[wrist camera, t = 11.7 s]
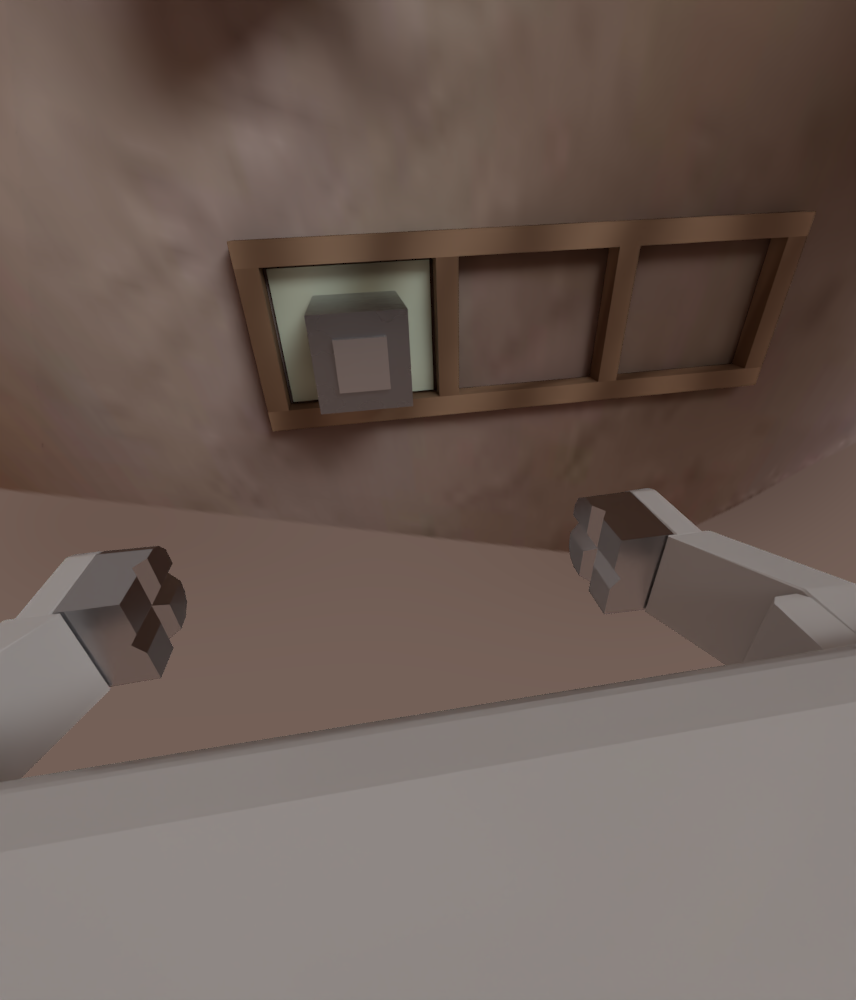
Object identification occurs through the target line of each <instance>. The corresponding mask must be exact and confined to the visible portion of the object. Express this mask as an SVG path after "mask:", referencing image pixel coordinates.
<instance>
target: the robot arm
mask: <svg viewBox="0 0 856 1000" xmlns="http://www.w3.org/2000/svg"><path fill="white" fill-rule="evenodd" d="M573 515H574V517H575V518H576V519H577V521H578V522H579V523H578V524H577V526H576V527H575V528H574V529H573V530H572V531H571V532H570V541H569V550H570V557H571V560H572V563H573V565H574V568H575V569H576V571H577V573H578V574H579V576H581V577H583V578H585V579H587V580H588V581H590V587H589V592H590V593H591V595H592V596H593V598H594V599H595V601H596V603H597V604H598V606H599V607H600V609H601V610H602V612H603V613H604V614H610V613H619V612H627V611H636V610H644V609H646V610H645V612H647V613H648V614H650V615H651V616H653V617H654V618H656V619H657V620H659V621H660V622H662V623H663V624H665V625H666V626H668V627H669V628H671V629H672V630H674V631H676V632H677V633H678V634H680V635H682V636H683V637H685V638H686V639H688V640H689V641H690V642H692V643H694V644H695V645H696V646H698V647H700V648H701V649H702V650H704V651H706V652H707V653H709V654H710V655H712V656H713V657H715V658H716V659H718V660H719V661H721V662H722V663H724V664H725V665H724V666H717V667H711V668H705V669H699V670H693V671H686V672H680V673H674V674H668V675H661V676H656V677H649V678H643V679H636V680H630V681H624V682H618V683H612V684H606V685H600V686H593V687H587V688H581V689H574V690H568V691H562V692H556V693H549V694H544V695H537V696H531V697H524V698H518V699H512V700H506V701H500V702H494V703H487V704H481V705H475V706H469V707H462V708H456V709H450V710H444V711H437V712H432V713H425V714H419V715H413V716H406V717H400V718H395V719H388V720H382V721H376V722H369V723H363V724H357V725H350V726H345V727H338V728H332V729H326V730H319V731H313V732H308V733H301V734H295V735H289V736H282V737H276V738H270V739H264V740H257V741H251V742H245V743H239V744H233V745H227V746H220V747H214V748H208V749H201V750H195V751H189V752H183V753H177V754H170V755H165V756H158V757H152V758H146V759H139V760H134V761H127V762H121V763H115V764H108V765H102V766H96V767H90V768H84V769H78V770H71V771H65V772H59V773H53V774H46V775H40V776H34V777H28V778H22V777H23V776H24V775H25V774H26V773H27V772H28V771H29V770H30V769H31V768H32V767H33V766H34V764H36V763H37V762H38V761H39V760H40V759H41V758H42V757H43V756H44V755H45V754H46V753H47V752H48V751H49V750H50V749H51V748H52V747H53V746H54V745H55V744H56V743H57V742H58V741H59V740H60V739H61V738H62V737H63V736H64V735H65V734H66V733H67V732H68V731H69V730H70V729H71V728H72V727H73V726H74V725H75V724H76V723H77V722H78V721H79V720H80V719H81V718H82V717H83V716H84V715H85V714H86V713H87V712H88V711H89V710H90V709H91V708H92V707H93V706H94V705H95V704H96V703H97V702H98V701H99V700H100V699H101V698H102V697H103V696H104V695H105V694H106V693H107V692H108V691H109V690H110V687H112V686H118V685H124V684H129V683H135V682H141V681H147V680H153V679H158V678H161V677H162V674H163V672H164V670H165V667H166V665H167V662H168V660H169V658H170V655H171V652H172V650H173V646H172V644H171V642H170V640H169V639H170V638H171V637H172V636H173V635H175V634H176V633H177V632H178V631H179V630H180V629H181V628H182V625H183V623H184V620H185V617H186V606H187V600H186V595H185V590H184V588H183V586H182V583H181V581H180V580H178V579H176V578H175V577H174V576H172V575H170V574H169V573H168V572H169V570H170V567H171V565H172V561H171V559H170V557H169V555H168V553H167V551H166V549H164V548H162V547H160V546H153V547H143V548H134V549H122V550H112V551H104V552H92V553H85V554H75V555H73V556H70V557H67V558H66V559H65V560H64V561H63V563H62V564H61V565H60V566H59V567H58V568H57V570H56V571H55V572H54V573H53V574H52V575H51V577H50V578H49V579H48V580H47V582H46V583H45V584H44V585H43V586H42V587H41V589H40V590H39V591H38V592H37V593H36V595H35V596H34V597H33V598H32V599H31V601H30V602H29V603H28V604H27V605H26V607H25V608H24V609H23V610H22V612H20V614H19V615H18V616H17V617H16V618H15V619H11V620H5V621H3V622H1V623H0V1000H856V584H854V583H852V582H849V581H846V580H844V579H841V578H838V577H835V576H832V575H830V574H827V573H824V572H822V571H819V570H816V569H813V568H811V567H808V566H805V565H803V564H800V563H797V562H794V561H791V560H789V559H786V558H783V557H780V556H778V555H775V554H772V553H770V552H767V551H764V550H761V549H759V548H756V547H753V546H750V545H748V544H745V543H742V542H739V541H737V540H734V539H731V538H729V537H726V536H723V535H720V534H718V533H715V532H712V531H701V530H700V529H699V528H697V527H696V526H695V525H694V524H693V523H692V522H691V521H690V520H688V519H687V518H686V517H685V516H684V515H683V514H682V513H681V512H679V511H678V510H677V509H676V508H675V507H674V506H673V505H672V504H670V503H669V502H668V501H667V500H666V499H665V498H664V497H663V496H661V495H660V494H659V493H658V492H657V491H656V490H654V489H650V488H644V489H637V490H631V491H625V492H620V493H613V494H605V495H597V496H590V497H582V498H578V500H577V502H576V504H575V508H574V514H573Z"/></svg>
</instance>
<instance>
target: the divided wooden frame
mask: <svg viewBox="0 0 856 1000" xmlns="http://www.w3.org/2000/svg"><path fill="white" fill-rule="evenodd" d="M815 213H816V211H797V212H778V213H758V214H739V215H719V216H700V217H680V218H661V219H642V220H622V221H603V222H583V223H564V224H544V225H525V226H505V227H486V228H467V229H447V230H428V231H408V232H389V233H369V234H350V235H330V236H311V237H292V238H272V239H253V240H233V241H227V245H228V249H229V253H230V257H231V261H232V265H233V270H234V274H235V278H236V282H237V286H238V290H239V294H240V299H241V303H242V307H243V311H244V315H245V319H246V323H247V328H248V332H249V336H250V340H251V344H252V348H253V352H254V357H255V361H256V365H257V369H258V373H259V377H260V382H261V386H262V390H263V394H264V398H265V402H266V406H267V411H268V415H269V419H270V423H271V427H272V431H283V430H293V429H304V428H314V427H324V426H335V425H345V424H355V423H366V422H376V421H387V420H397V419H407V418H418V417H428V416H438V415H449V414H459V413H469V412H480V411H490V410H501V409H511V408H521V407H532V406H542V405H552V404H563V403H573V402H583V401H594V400H604V399H614V398H625V397H635V396H646V395H656V394H666V393H677V392H687V391H697V390H708V389H718V388H728V387H739V386H749V385H755V384H756V381H757V378H758V375H759V372H760V370H761V367H762V364H763V361H764V358H765V355H766V353H767V350H768V347H769V344H770V341H771V338H772V336H773V333H774V330H775V327H776V324H777V321H778V318H779V316H780V313H781V310H782V307H783V304H784V301H785V299H786V296H787V293H788V290H789V287H790V284H791V282H792V279H793V276H794V273H795V270H796V267H797V265H798V262H799V259H800V256H801V253H802V250H803V247H804V245H805V242H806V239H807V236H808V233H809V230H810V228H811V225H812V222H813V219H814V216H815ZM765 238H771V241H770V244H769V248H768V251H767V254H766V257H765V260H764V263H763V267H762V270H761V273H760V276H759V279H758V282H757V285H756V289H755V292H754V295H753V298H752V301H751V304H750V308H749V311H748V314H747V317H746V320H745V323H744V327H743V330H742V333H741V336H740V339H739V342H738V346H737V349H736V352H735V355H734V358H733V361H732V364H723V365H712V366H701V367H690V368H679V369H668V370H657V371H646V372H635V373H624V374H617V372H618V367H619V361H620V356H621V350H622V345H623V340H624V334H625V329H626V323H627V318H628V312H629V307H630V301H631V296H632V291H633V285H634V280H635V274H636V269H637V263H638V258H639V253H640V247H641V246H644V245H662V244H679V243H696V242H713V241H730V240H748V239H765ZM593 248H609V252H608V258H607V265H606V271H605V278H604V285H603V291H602V298H601V304H600V311H599V318H598V324H597V331H596V337H595V344H594V351H593V357H592V364H591V370H590V377H579V378H568V379H557V380H546V381H535V382H524V383H513V384H502V385H491V386H480V387H469V388H459V273H458V256H472V255H489V254H507V253H524V252H541V251H558V250H575V249H593ZM421 258H432V267H433V299H434V331H435V363H436V391H424V392H413V406H410V407H399V408H387V409H376V410H365V411H354V412H343V413H332V414H321V411H320V405H319V401H314V402H303V403H292V404H291V401H290V397H289V392H288V387H287V382H286V378H285V373H284V368H283V363H282V359H281V354H280V349H279V344H278V340H277V335H276V330H275V325H274V320H273V316H272V311H271V306H270V301H269V297H268V292H267V287H266V282H265V278H264V273H263V268H266V267H283V266H300V265H317V264H335V263H352V262H369V261H386V260H403V259H421ZM266 271H267V276H268V281H269V286H270V291H271V296H272V300H273V305H274V310H275V315H276V320H277V325H278V329H279V334H280V339H281V344H282V349H283V354H284V358H285V363H286V368H287V373H288V378H289V383H290V387H291V392H292V397H293V402H299V401H310V400H318V394H317V388H316V382H315V376H314V370H313V365H312V359H311V353H310V347H309V341H308V336H307V330H306V324H305V318H304V315H305V312H306V310H307V308H308V305H309V303H310V300H311V298H312V296H315V295H331V294H347V293H363V292H380V291H396V292H397V294H398V295H399V297H400V298H401V300H402V301H403V303H404V304H405V306H406V307H407V308H408V322H409V340H410V357H411V375H412V391H421V390H433V389H434V385H433V356H432V327H431V297H430V268H429V259H425V260H408V261H391V262H374V263H357V264H340V265H323V266H306V267H288V268H271V269H266Z"/></svg>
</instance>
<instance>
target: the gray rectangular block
mask: <svg viewBox="0 0 856 1000" xmlns="http://www.w3.org/2000/svg"><path fill="white" fill-rule="evenodd" d="M304 318H305V324H306V330H307V336H308V341H309V347H310V353H311V359H312V365H313V370H314V376H315V382H316V388H317V394H318V400H319V405H320V411H321V414H332V413H343V412H354V411H365V410H376V409H387V408H399V407H410V406H413V393H412V375H411V357H410V340H409V322H408V308H407V307H406V306H405V304H404V303H403V301H402V300H401V298H400V297H399V295H398V294H397V292H396V291H380V292H363V293H347V294H331V295H315V296H312V298H311V300H310V303H309V305H308V308H307V310H306V312H305V315H304Z"/></svg>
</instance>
